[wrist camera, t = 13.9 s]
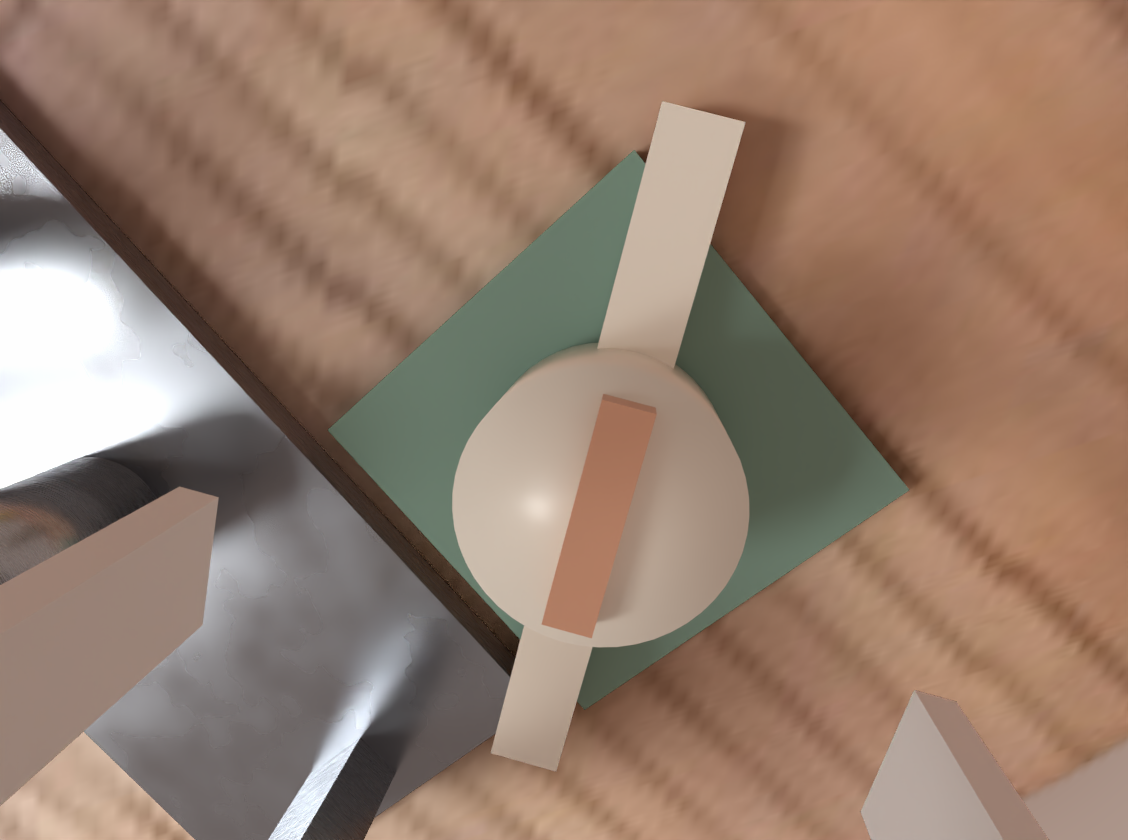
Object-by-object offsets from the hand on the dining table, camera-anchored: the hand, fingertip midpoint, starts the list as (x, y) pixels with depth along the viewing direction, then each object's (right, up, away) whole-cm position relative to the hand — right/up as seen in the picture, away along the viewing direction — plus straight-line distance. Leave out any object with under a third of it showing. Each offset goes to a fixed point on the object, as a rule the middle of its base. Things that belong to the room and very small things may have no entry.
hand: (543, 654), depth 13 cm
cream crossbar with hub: (+2, +3, +11) cm, 12 cm away
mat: (+2, +3, +12) cm, 12 cm away
